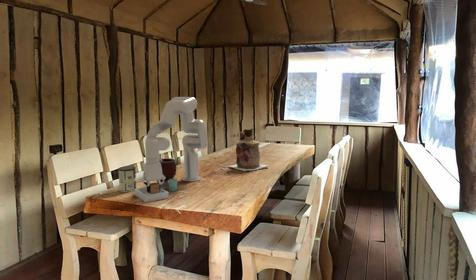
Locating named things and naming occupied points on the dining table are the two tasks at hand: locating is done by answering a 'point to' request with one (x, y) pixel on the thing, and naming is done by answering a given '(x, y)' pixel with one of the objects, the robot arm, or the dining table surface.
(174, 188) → the teal rounded capsule
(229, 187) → the dining table surface
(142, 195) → the grey tote
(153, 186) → the walnut cube
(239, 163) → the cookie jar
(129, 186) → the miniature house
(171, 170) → the mate gourd
